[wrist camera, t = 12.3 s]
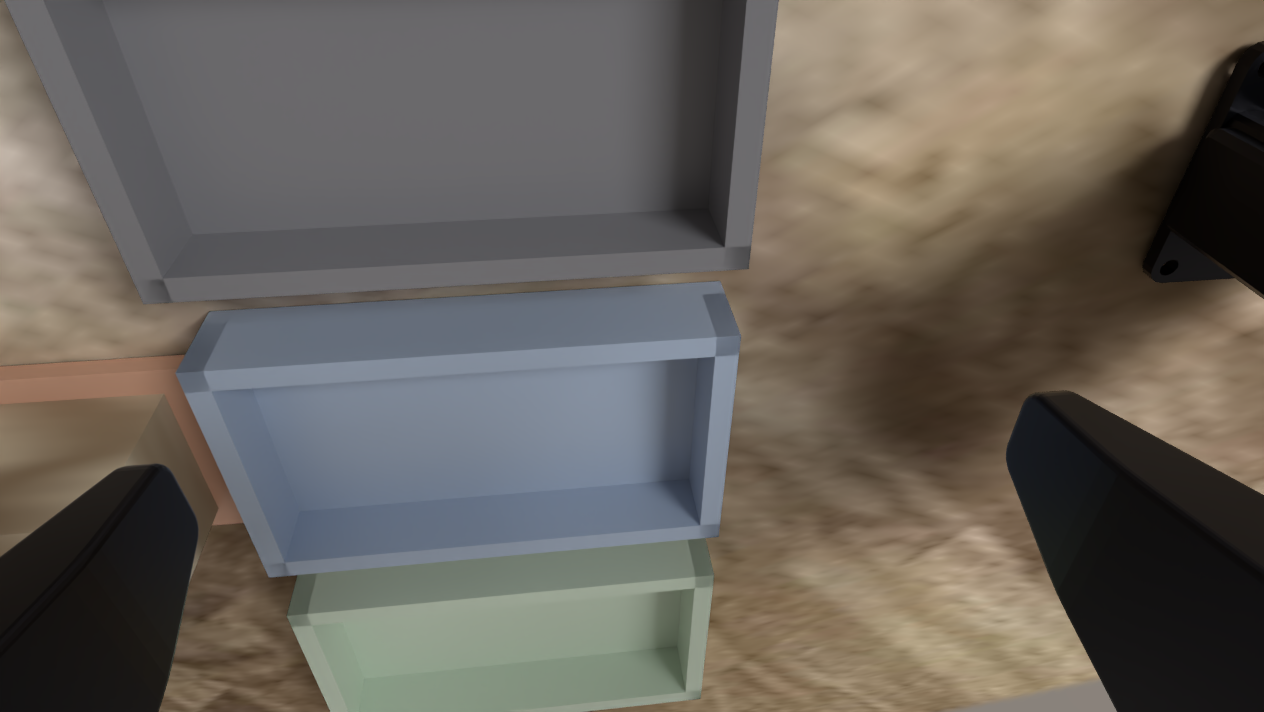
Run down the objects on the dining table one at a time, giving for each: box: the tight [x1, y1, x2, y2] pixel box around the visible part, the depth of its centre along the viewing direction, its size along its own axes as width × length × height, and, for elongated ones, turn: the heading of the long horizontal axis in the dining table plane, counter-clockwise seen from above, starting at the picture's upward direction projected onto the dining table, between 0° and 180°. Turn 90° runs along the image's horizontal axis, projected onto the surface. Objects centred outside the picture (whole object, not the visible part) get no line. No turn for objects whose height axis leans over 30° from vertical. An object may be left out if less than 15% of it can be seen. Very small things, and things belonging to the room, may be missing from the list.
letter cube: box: [0, 394, 219, 582], centre depth 20 cm, size 4×4×5 cm
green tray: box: [287, 538, 714, 712], centre depth 28 cm, size 13×8×2 cm, turn 90°
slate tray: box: [175, 281, 741, 578], centre depth 22 cm, size 13×8×2 cm, turn 90°
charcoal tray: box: [4, 0, 779, 304], centre depth 16 cm, size 13×8×2 cm, turn 90°
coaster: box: [0, 355, 244, 526], centre depth 22 cm, size 6×6×1 cm
